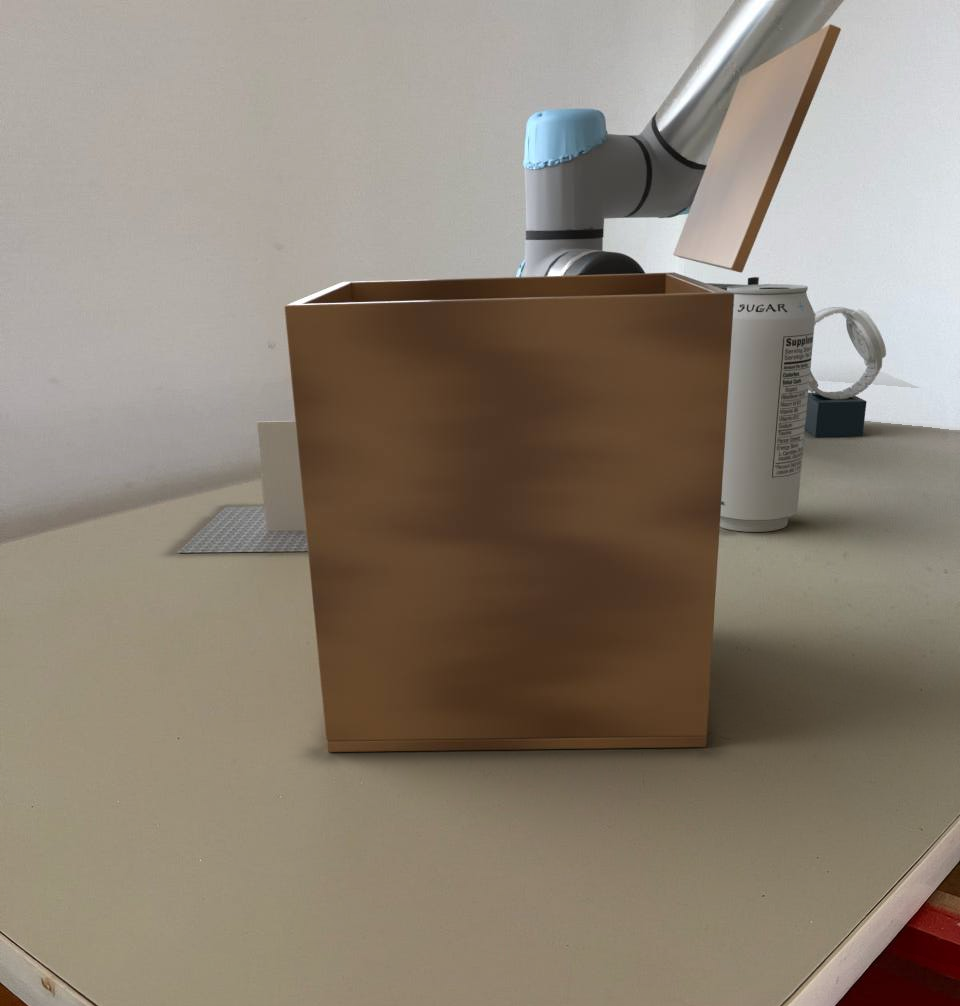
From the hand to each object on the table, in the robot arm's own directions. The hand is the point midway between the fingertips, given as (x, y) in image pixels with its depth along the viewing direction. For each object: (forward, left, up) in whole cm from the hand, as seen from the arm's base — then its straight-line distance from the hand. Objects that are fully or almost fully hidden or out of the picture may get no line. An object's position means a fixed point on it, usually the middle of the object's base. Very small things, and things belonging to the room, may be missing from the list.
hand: (697, 316), depth 73 cm
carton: (+13, +34, -13) cm, 39 cm away
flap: (+5, +34, +9) cm, 36 cm away
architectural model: (+27, +8, -13) cm, 31 cm away
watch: (-17, -21, -13) cm, 29 cm away
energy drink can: (-3, +9, -13) cm, 16 cm away
